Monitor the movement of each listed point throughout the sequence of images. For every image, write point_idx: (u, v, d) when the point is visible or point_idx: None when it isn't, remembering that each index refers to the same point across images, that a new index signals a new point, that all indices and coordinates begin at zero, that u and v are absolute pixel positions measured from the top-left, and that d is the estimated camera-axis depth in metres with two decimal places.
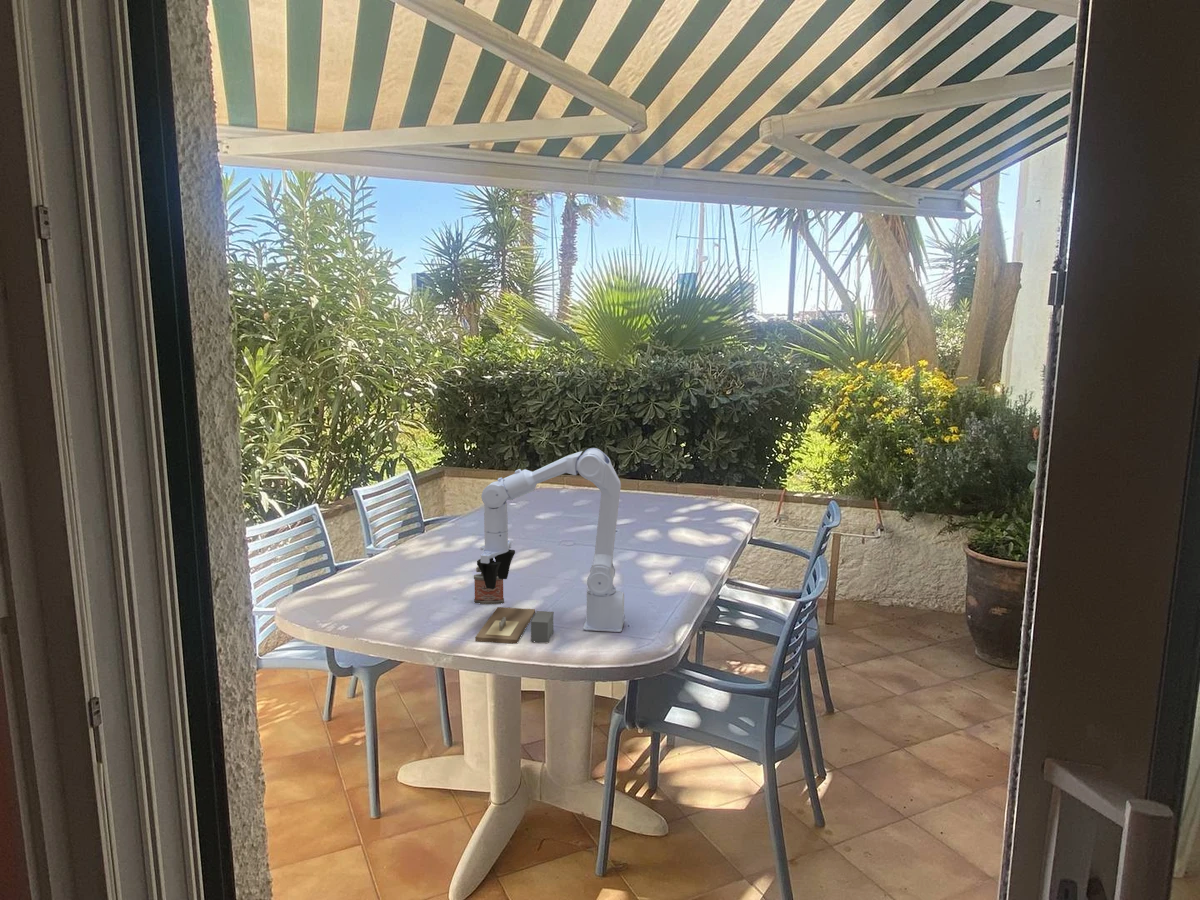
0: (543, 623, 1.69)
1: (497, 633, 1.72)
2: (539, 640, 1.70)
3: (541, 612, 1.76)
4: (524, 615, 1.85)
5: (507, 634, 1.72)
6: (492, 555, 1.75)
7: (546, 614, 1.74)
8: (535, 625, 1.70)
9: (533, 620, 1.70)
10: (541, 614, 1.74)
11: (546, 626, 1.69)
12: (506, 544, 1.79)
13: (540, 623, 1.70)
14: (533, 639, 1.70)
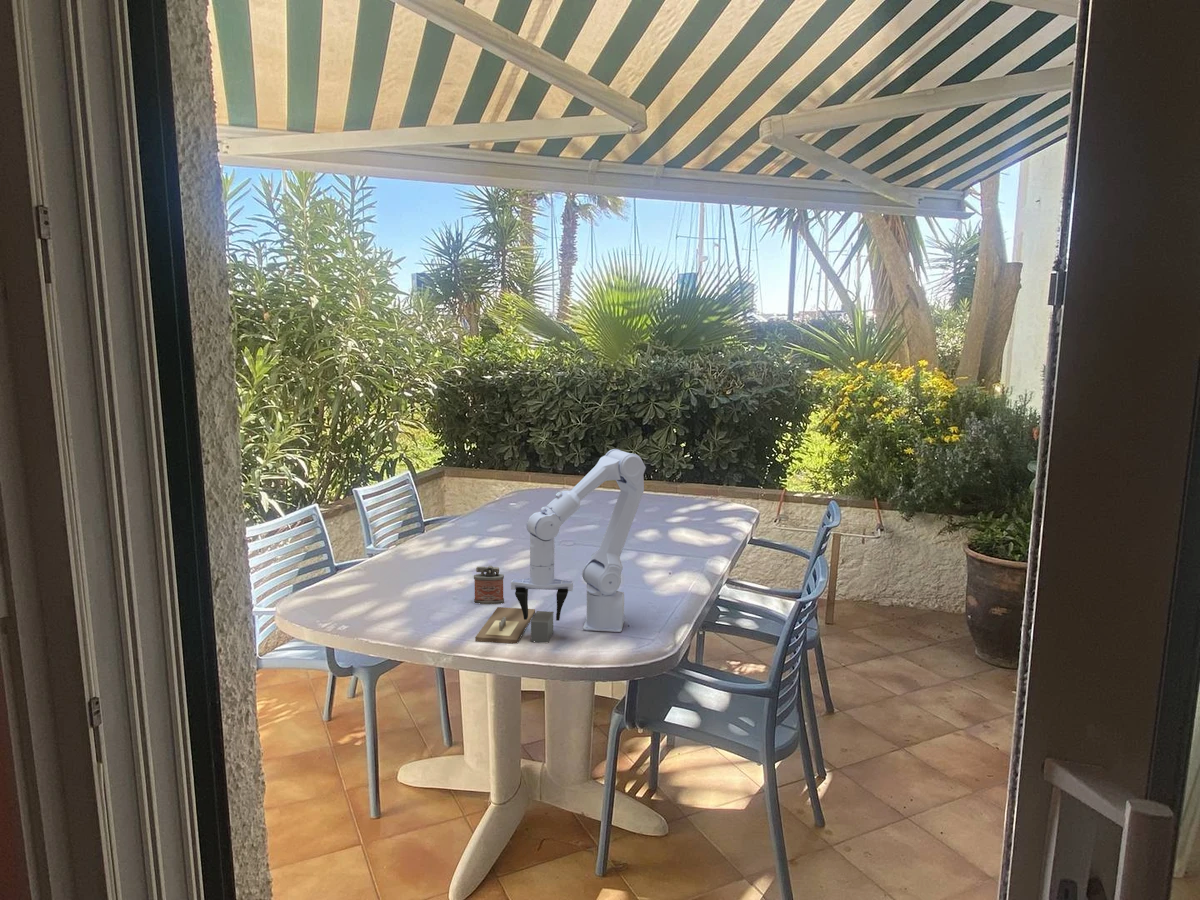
0: (543, 623, 1.69)
1: (497, 633, 1.72)
2: (539, 640, 1.70)
3: (541, 612, 1.76)
4: None
5: (507, 634, 1.72)
6: (518, 584, 1.71)
7: (546, 614, 1.74)
8: (535, 625, 1.70)
9: (533, 620, 1.70)
10: (541, 614, 1.74)
11: (546, 626, 1.69)
12: (539, 580, 1.69)
13: (540, 623, 1.70)
14: (533, 639, 1.70)
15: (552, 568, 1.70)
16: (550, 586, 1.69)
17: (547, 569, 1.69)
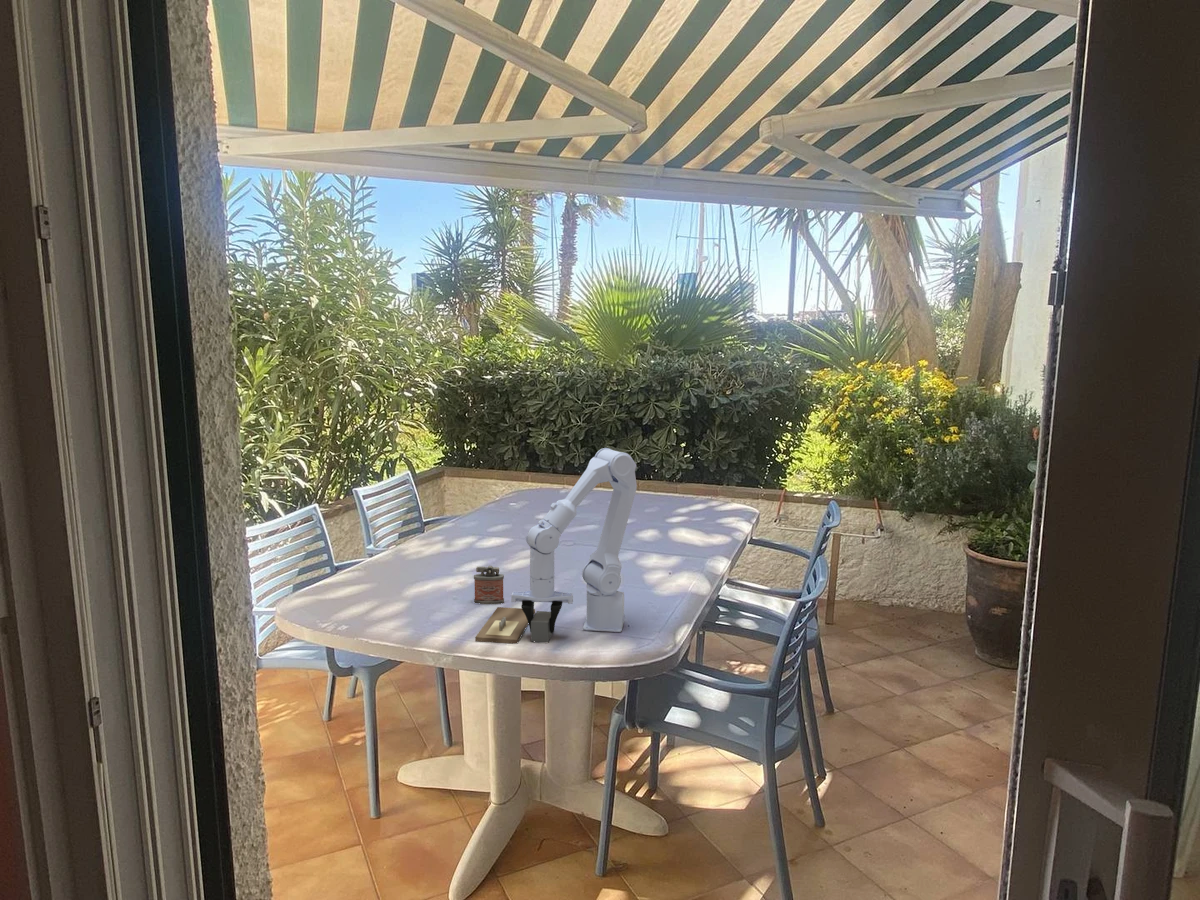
0: (543, 623, 1.69)
1: (497, 633, 1.72)
2: (539, 640, 1.70)
3: (541, 612, 1.76)
4: (524, 615, 1.85)
5: (507, 634, 1.72)
6: (519, 596, 1.71)
7: (546, 614, 1.74)
8: (535, 625, 1.70)
9: (533, 620, 1.70)
10: (541, 614, 1.74)
11: (546, 626, 1.69)
12: (540, 593, 1.69)
13: (540, 623, 1.70)
14: (533, 639, 1.70)
15: (552, 581, 1.70)
16: (550, 599, 1.70)
17: (547, 582, 1.69)
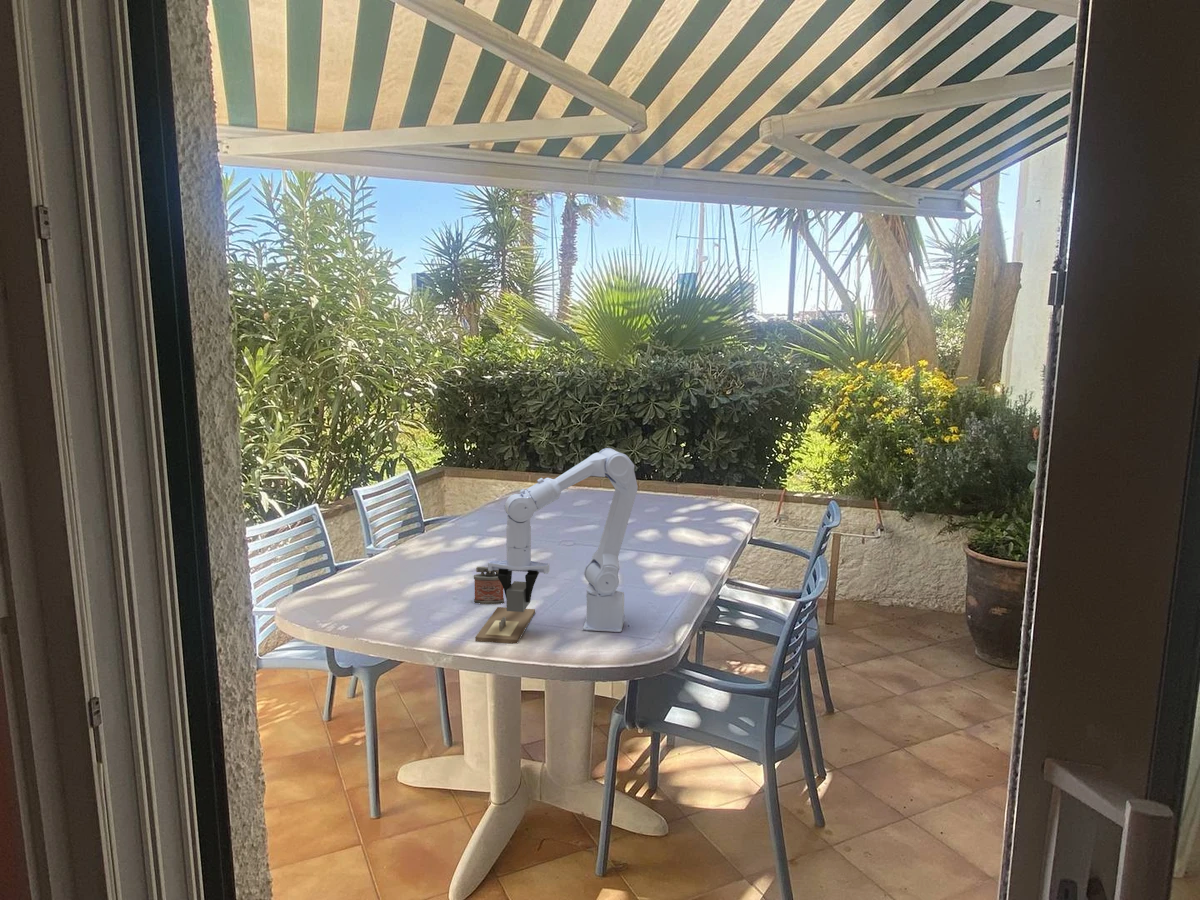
0: (518, 592, 1.70)
1: (497, 633, 1.72)
2: (515, 609, 1.70)
3: (518, 582, 1.76)
4: (524, 615, 1.85)
5: (507, 634, 1.72)
6: (495, 565, 1.72)
7: (523, 584, 1.74)
8: (510, 594, 1.70)
9: (509, 589, 1.70)
10: (518, 584, 1.74)
11: (521, 595, 1.69)
12: (515, 562, 1.69)
13: (516, 592, 1.70)
14: (509, 608, 1.70)
15: (528, 550, 1.70)
16: (525, 568, 1.70)
17: (522, 551, 1.69)
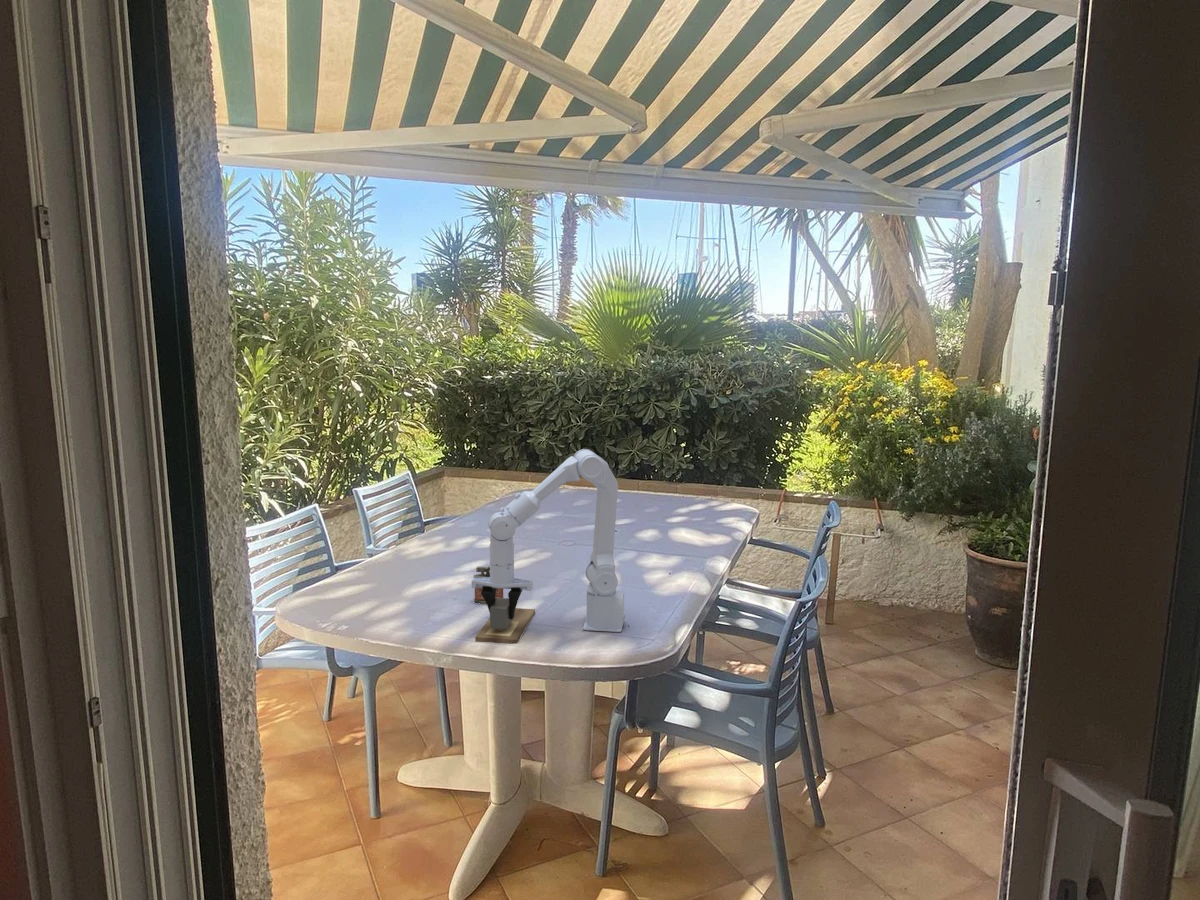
0: (502, 610, 1.71)
1: (497, 633, 1.72)
2: (498, 626, 1.72)
3: (501, 599, 1.77)
4: (524, 615, 1.85)
5: (507, 634, 1.72)
6: (478, 582, 1.73)
7: (506, 601, 1.76)
8: (494, 611, 1.71)
9: (492, 607, 1.72)
10: (501, 601, 1.76)
11: (505, 612, 1.71)
12: (498, 579, 1.71)
13: (499, 609, 1.71)
14: (492, 625, 1.72)
15: (511, 568, 1.72)
16: (508, 585, 1.71)
17: (505, 568, 1.71)
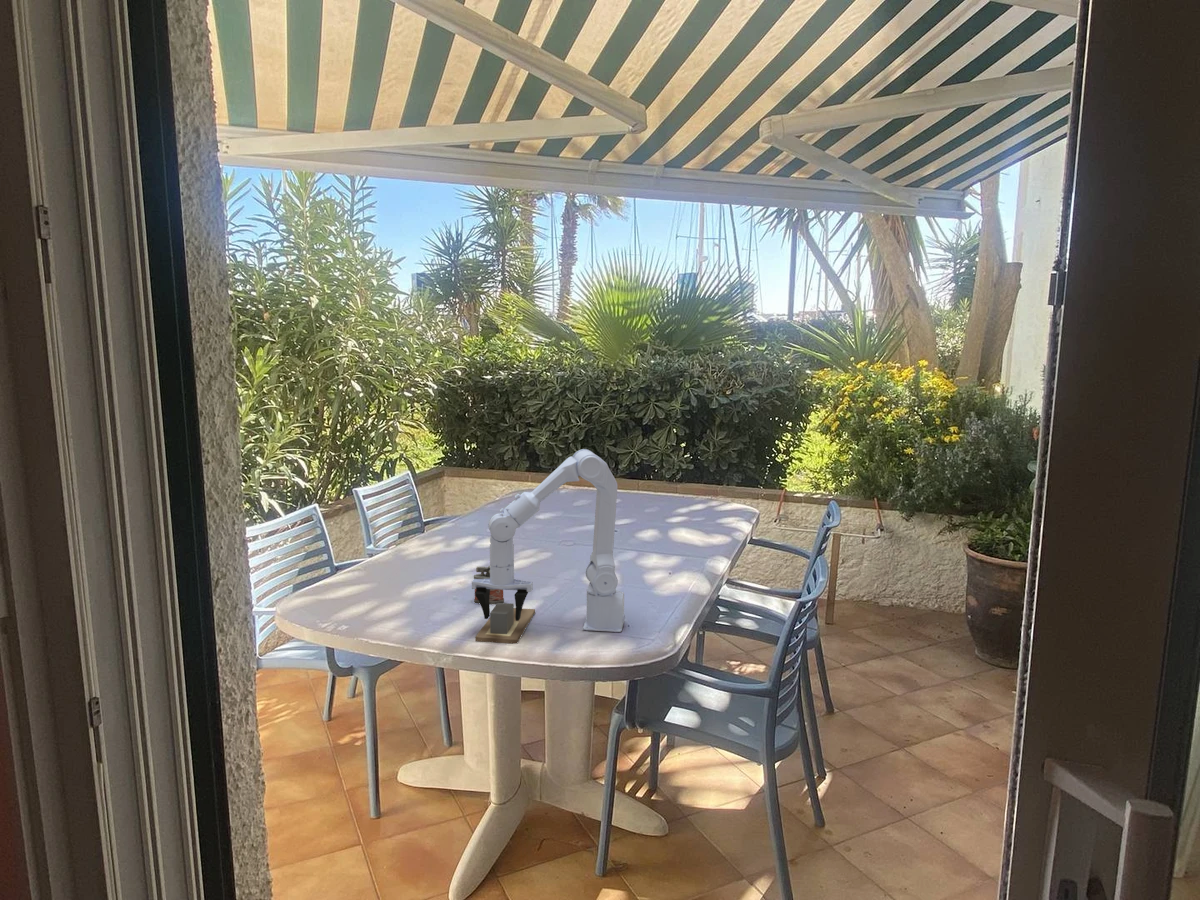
0: (502, 615, 1.71)
1: None
2: (498, 631, 1.72)
3: (501, 604, 1.77)
4: (524, 615, 1.85)
5: (507, 634, 1.72)
6: (478, 583, 1.73)
7: (506, 606, 1.76)
8: (494, 616, 1.72)
9: (492, 612, 1.72)
10: (501, 606, 1.76)
11: (505, 617, 1.71)
12: (498, 580, 1.71)
13: (499, 614, 1.71)
14: (492, 630, 1.72)
15: (511, 569, 1.72)
16: (508, 586, 1.71)
17: (505, 570, 1.71)
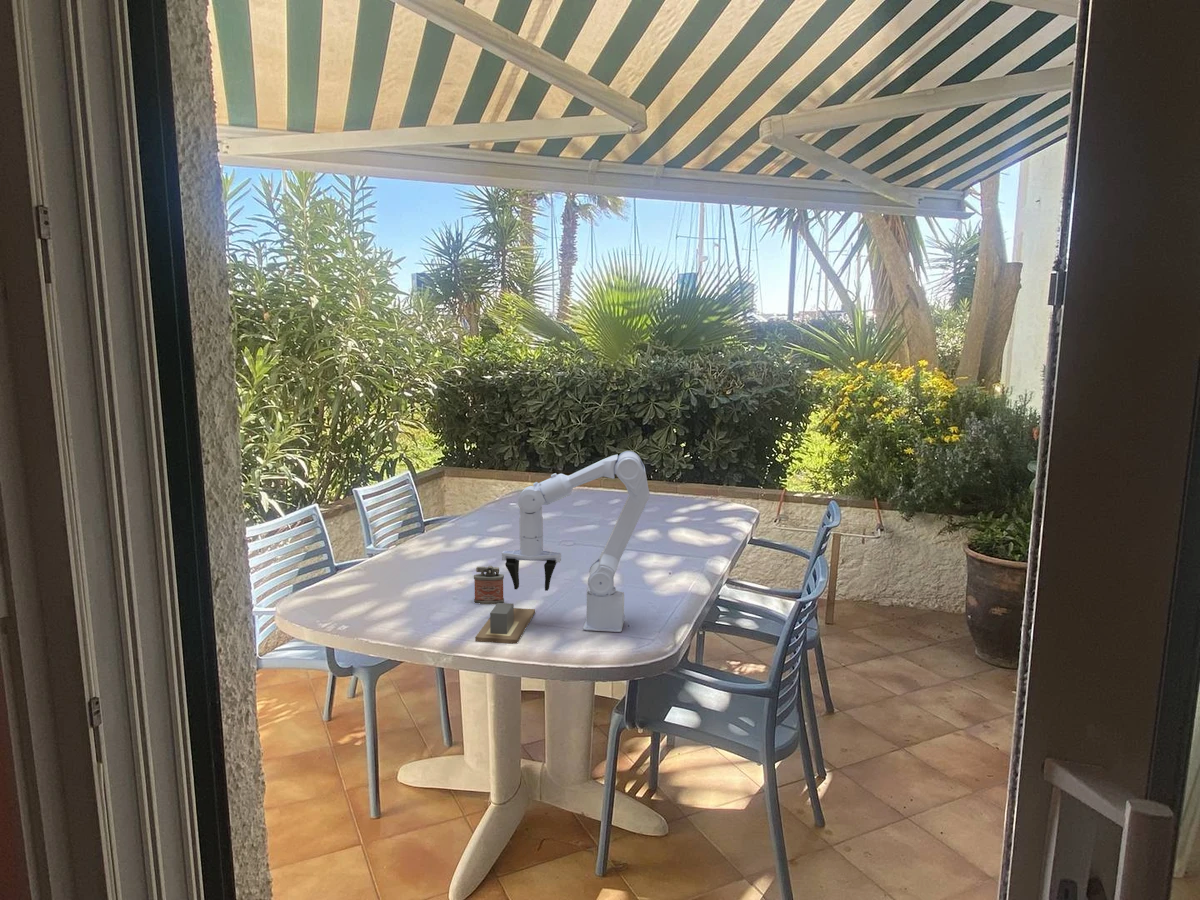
0: (502, 615, 1.71)
1: None
2: (498, 631, 1.72)
3: (501, 604, 1.77)
4: (524, 615, 1.85)
5: (507, 634, 1.72)
6: (509, 555, 1.78)
7: (506, 606, 1.76)
8: (494, 616, 1.72)
9: (492, 612, 1.72)
10: (501, 606, 1.76)
11: (505, 617, 1.71)
12: (528, 551, 1.76)
13: (499, 614, 1.71)
14: (492, 630, 1.72)
15: (540, 540, 1.77)
16: (538, 557, 1.76)
17: (535, 541, 1.76)
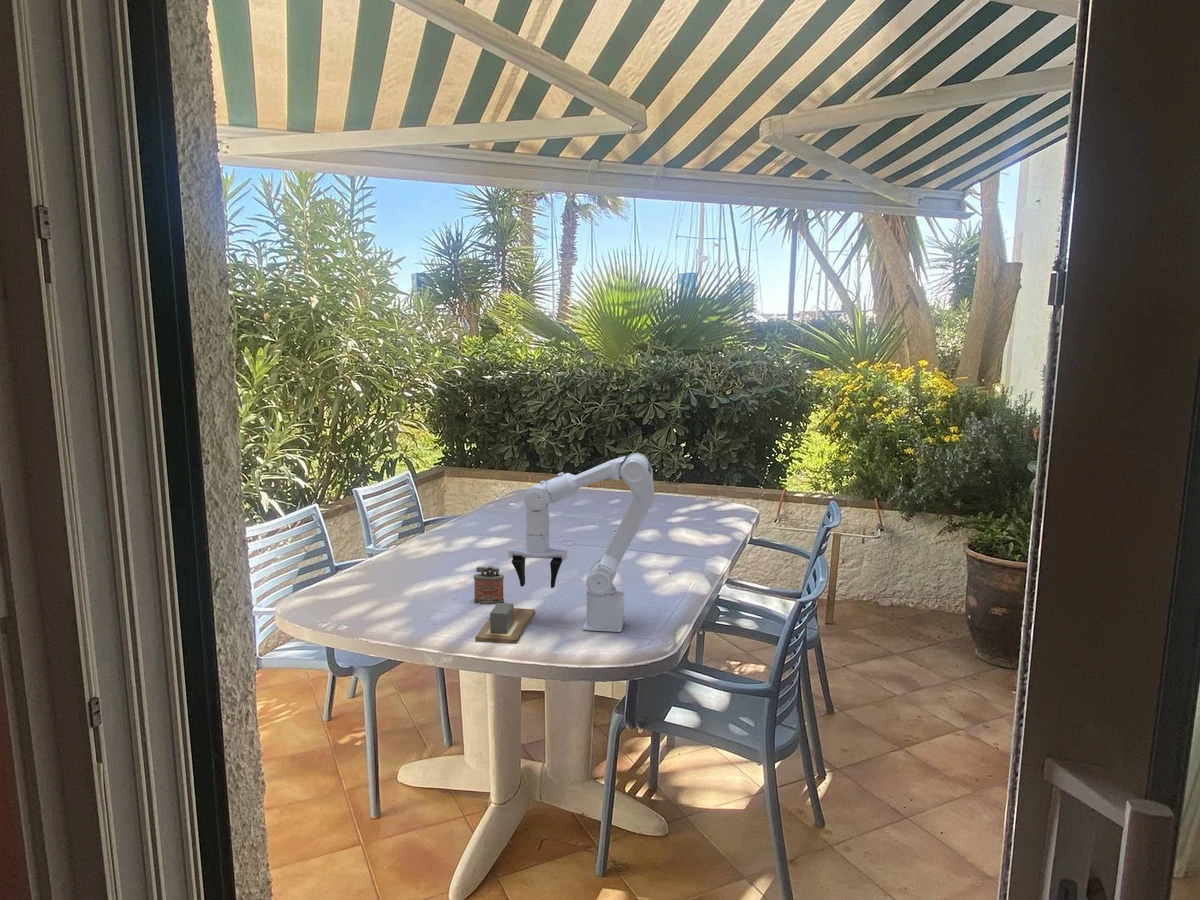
0: (502, 615, 1.71)
1: None
2: (498, 631, 1.72)
3: (501, 604, 1.77)
4: (524, 615, 1.85)
5: (507, 634, 1.72)
6: (515, 552, 1.80)
7: (506, 606, 1.76)
8: (494, 616, 1.72)
9: (492, 612, 1.72)
10: (501, 606, 1.76)
11: (505, 617, 1.71)
12: (534, 549, 1.77)
13: (499, 614, 1.71)
14: (492, 630, 1.72)
15: (546, 537, 1.78)
16: (544, 554, 1.78)
17: (541, 538, 1.77)
